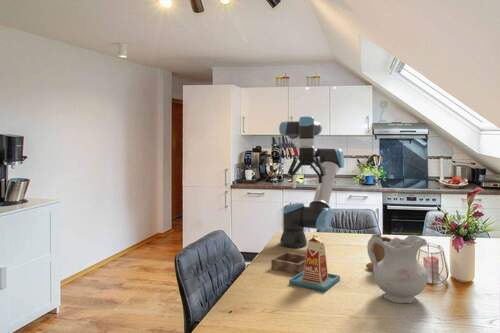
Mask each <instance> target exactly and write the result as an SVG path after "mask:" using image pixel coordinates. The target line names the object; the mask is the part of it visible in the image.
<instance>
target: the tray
mask: <svg viewBox="0 0 500 333" xmlns="http://www.w3.org/2000/svg"><path fill="white" fill-rule="evenodd" d="M302 276H303V271H302V272H300V273H299V274H295V275H294V276H293V277H291V278H290V279H289V280H288V283H289V285H291V286H295V287H298V288H299V287H300V288H304V289H309V290H314V291H318V292H322V293H326V292H327V291H329V289H331V288H332V287H333V286H335V285H336V284H337V283H339V282H340V280H341V276H340V275H339V274H334V273H330V272H328V280H327V281H326V282H325V283H324V284H323V285H317V284H312V283H307V282H302Z"/></svg>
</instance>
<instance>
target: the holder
mask: <svg viewBox="0 0 500 333" xmlns="http://www.w3.org/2000/svg"><path fill="white" fill-rule="evenodd" d="M305 259H306V254H300V253H294V252H288V251H285V252H283V253H281V254H279V255H277V256H275V257H273V258H271V260H270V262H271V264H270V266H271V268H270V269H271V270H274V271H280V272H285V273H291V274H294V275H297V274H299V273H300V272H302V271H304V266H305Z"/></svg>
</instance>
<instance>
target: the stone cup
mask: <svg viewBox="0 0 500 333" xmlns="http://www.w3.org/2000/svg"><path fill="white" fill-rule="evenodd" d="M381 238H382V241H383V242H384V241H386V242H390V241H391V240H392V239H393V238H391V237H388V236H381ZM373 253H374V255H375V258H376V262H377V263H379V262H380V261H382V260H383V259H384V257H385V250H384V247H382V246H381V245H380V244H379V243H375V244H374V245H373ZM365 268H367V269H369V270H371V271H373V264H372V262H371V261H370V262H368V263H367V264H365Z"/></svg>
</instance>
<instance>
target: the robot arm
mask: <svg viewBox="0 0 500 333" xmlns="http://www.w3.org/2000/svg"><path fill="white" fill-rule="evenodd" d="M278 130H279V131H278V132H279V134H280V135H281V136H287V137H288V139H289V140H290V141H291V143H292V144H293V145H294V146H295V148H296V149H297V151H298V155H299V156H297V155H296V156H295V155H294V156H293V158H292V162H291V165H290V166H289V169H288V171H287V174H288V175H290V178H291V179H290V181H291V182H292V189H296V188H297V175H296V174H297V172H298V171H299V170H300V169H301V167H302V166H310V167H311V168H312V170H313V171H314V172H315V174H316V175H317V176H316V190H315V194H314V197H313V200H312V201H311V202H310V203H309V205H308V206H305V204H304V203H299V202H297V203H290V204H289V203H288V204H286V205H284V207H283V210H282V211H283V213H282V219H283V220H282V222H283V223H282V224H283V226H282V227H283V228H282V230H283V231H282V233H281V237H280V241H279V244H280V245H281V246H282V247H286V248H290V249H291V248H292V249H293V248H294V249H297V248H298V249H299V248H303V247H304V248H305V247H307V246H308V240H307V238H306V234H305V229H315V230H326V229H328V228H329V227H330V225H331V224H332V223H331V222H332V219H333V210H332V208H331V206H330V205H329V204H330V201H331V200H330V199H331V195H332V191H333V187H334V182H335V178H336V175H337V174H338V173H339V171H340V169H343V168H344V167H345V155H344V151H343V150H342V148H336V147H335V148H316V147H314V146H315V137H316V136H318V135H319V134H321V132H322V131H323V126H322V124H321V123H320V122H319V121H317V120H315V117H314V116H300V117H299V119H298V121H296V120H295V121H288V120H287V121H282V122H281V123H279V126H278ZM298 161H299V162H298Z"/></svg>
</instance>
